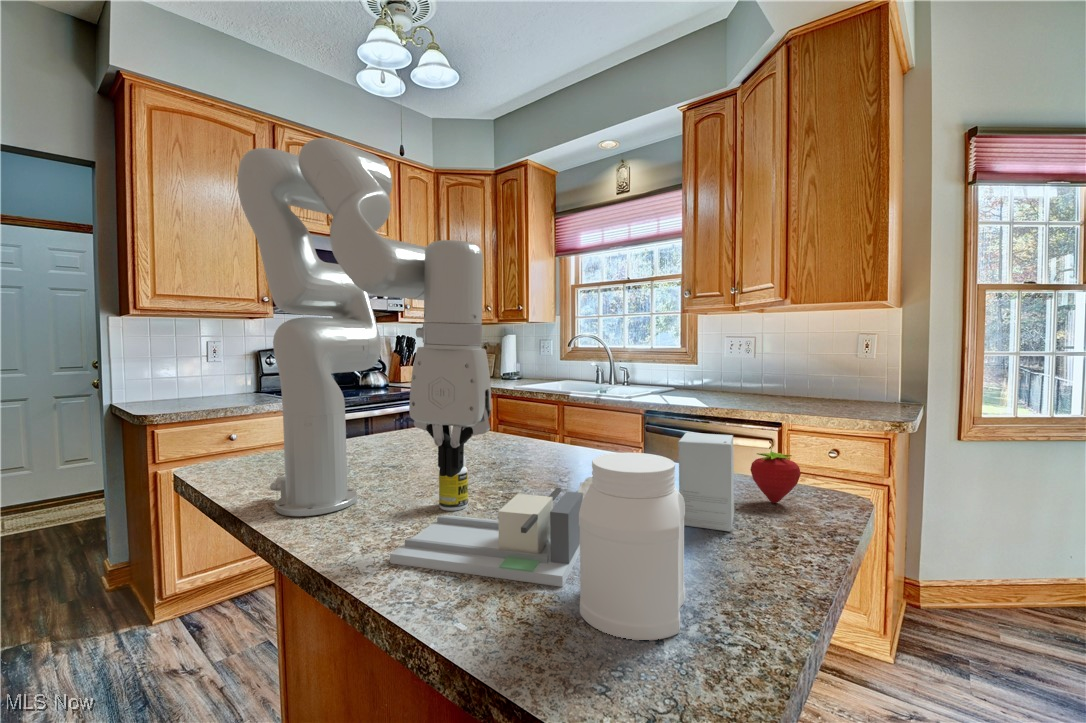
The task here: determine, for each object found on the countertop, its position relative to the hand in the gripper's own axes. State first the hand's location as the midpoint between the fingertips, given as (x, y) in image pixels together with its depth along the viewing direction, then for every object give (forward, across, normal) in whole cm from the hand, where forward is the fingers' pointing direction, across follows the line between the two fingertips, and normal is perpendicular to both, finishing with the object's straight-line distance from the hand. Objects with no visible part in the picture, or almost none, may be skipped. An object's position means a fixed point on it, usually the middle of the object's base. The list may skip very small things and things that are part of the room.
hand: (450, 473), depth 66 cm
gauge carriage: (+8, +11, 0) cm, 14 cm away
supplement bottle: (+10, -6, +14) cm, 18 cm away
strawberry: (+8, +45, +28) cm, 54 cm away
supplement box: (+8, +34, +18) cm, 39 cm away
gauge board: (+9, +7, 0) cm, 12 cm away
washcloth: (+10, +19, +22) cm, 30 cm away
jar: (+8, +26, -10) cm, 29 cm away
